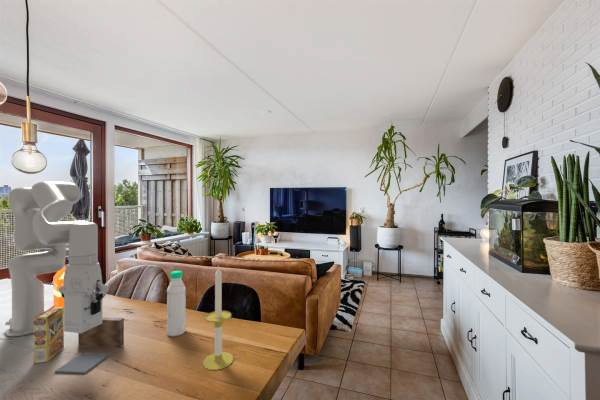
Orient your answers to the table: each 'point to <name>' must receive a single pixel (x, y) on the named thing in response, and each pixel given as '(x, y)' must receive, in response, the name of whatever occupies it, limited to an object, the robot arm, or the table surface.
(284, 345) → the table surface
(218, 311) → the candle
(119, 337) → the walnut screen
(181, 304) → the water bottle
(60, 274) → the orange juice
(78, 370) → the mat
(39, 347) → the candy box
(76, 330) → the supplement box
